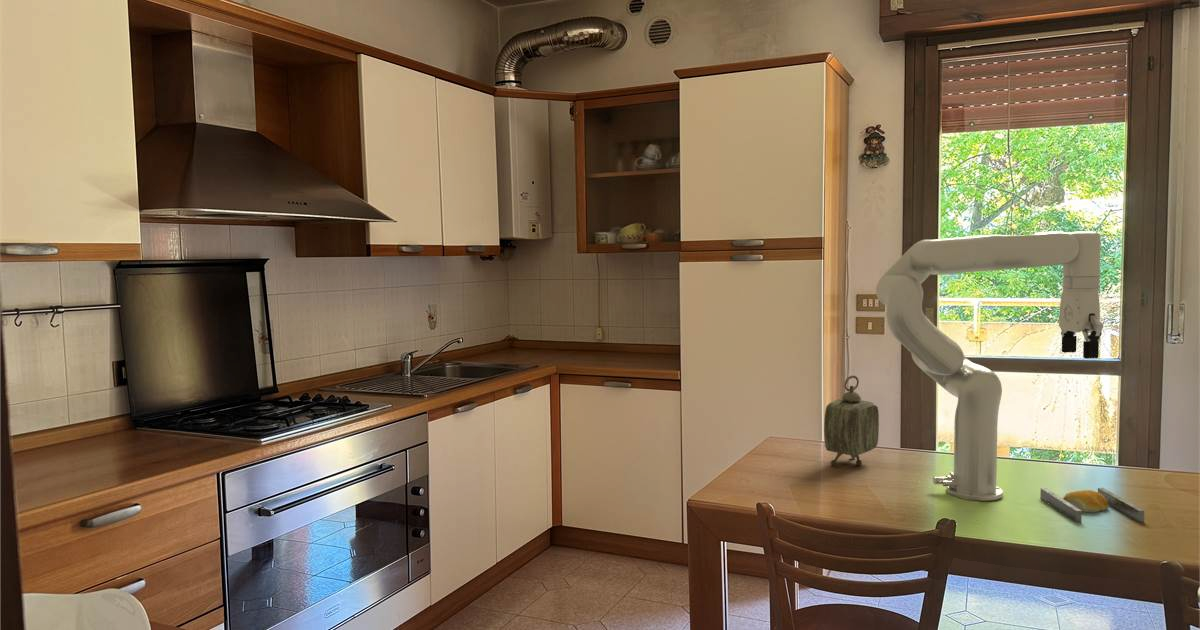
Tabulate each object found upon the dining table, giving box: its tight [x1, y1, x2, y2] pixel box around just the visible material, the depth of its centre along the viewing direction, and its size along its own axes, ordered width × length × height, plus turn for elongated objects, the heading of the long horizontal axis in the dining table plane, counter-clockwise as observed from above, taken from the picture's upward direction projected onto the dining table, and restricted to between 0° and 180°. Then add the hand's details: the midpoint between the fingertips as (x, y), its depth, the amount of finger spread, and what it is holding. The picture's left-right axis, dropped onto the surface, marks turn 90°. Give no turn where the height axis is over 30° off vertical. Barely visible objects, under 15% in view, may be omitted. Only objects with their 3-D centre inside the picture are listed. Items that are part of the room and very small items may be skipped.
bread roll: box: [1062, 489, 1109, 513], centre depth 185 cm, size 8×9×4 cm
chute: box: [1039, 487, 1145, 523], centre depth 183 cm, size 14×16×2 cm
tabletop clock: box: [823, 375, 880, 467], centre depth 223 cm, size 14×9×25 cm, turn 133°
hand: (1079, 355), depth 192 cm, fingers open, 9 cm apart
